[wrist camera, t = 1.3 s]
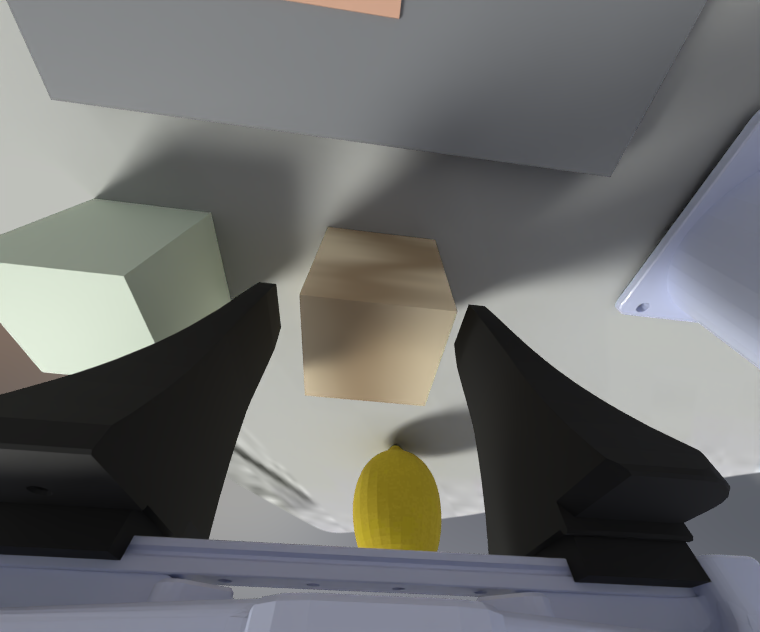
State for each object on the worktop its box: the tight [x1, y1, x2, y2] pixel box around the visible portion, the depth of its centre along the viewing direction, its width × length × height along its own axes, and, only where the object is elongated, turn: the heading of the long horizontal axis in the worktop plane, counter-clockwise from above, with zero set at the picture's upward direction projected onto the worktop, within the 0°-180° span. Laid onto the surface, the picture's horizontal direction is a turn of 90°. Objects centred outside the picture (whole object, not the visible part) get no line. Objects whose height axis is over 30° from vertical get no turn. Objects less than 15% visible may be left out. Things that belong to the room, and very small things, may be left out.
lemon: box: [353, 445, 441, 552], centre depth 19 cm, size 6×6×8 cm
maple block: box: [300, 227, 457, 406], centre depth 12 cm, size 4×4×5 cm
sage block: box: [0, 199, 231, 375], centre depth 11 cm, size 4×4×5 cm
